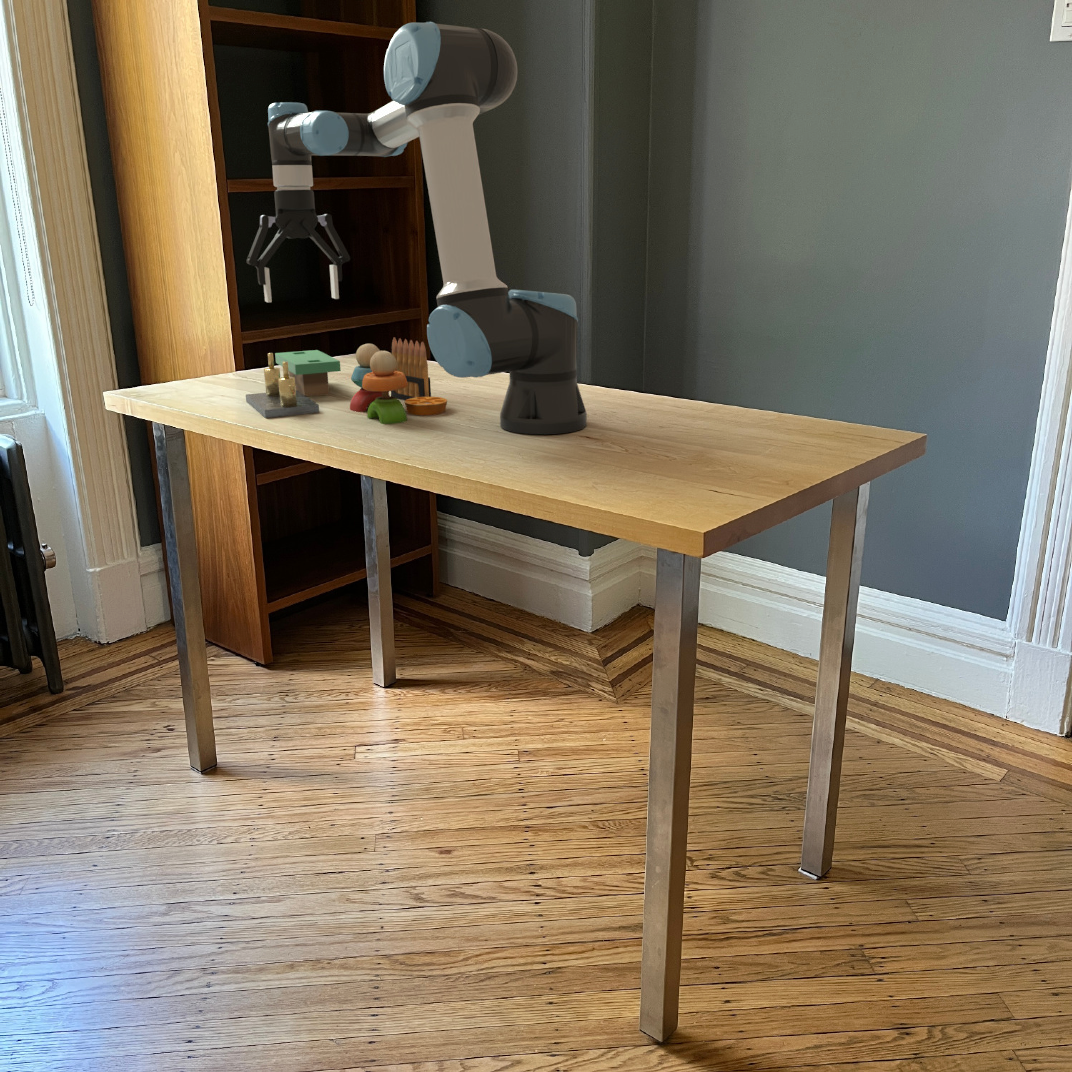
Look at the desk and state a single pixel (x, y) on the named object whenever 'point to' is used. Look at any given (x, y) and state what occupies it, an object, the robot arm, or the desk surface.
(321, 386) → the stand
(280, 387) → the chassis
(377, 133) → the robot arm
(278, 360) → the board
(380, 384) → the colourful wooden toy set
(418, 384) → the ammunition clip
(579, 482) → the desk surface
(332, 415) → the desk surface
